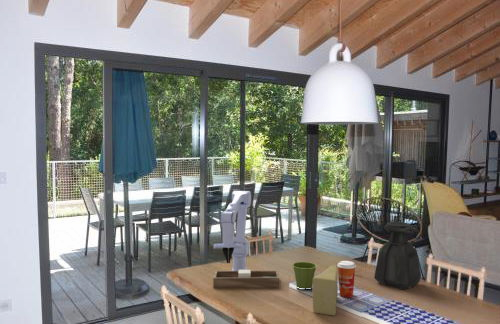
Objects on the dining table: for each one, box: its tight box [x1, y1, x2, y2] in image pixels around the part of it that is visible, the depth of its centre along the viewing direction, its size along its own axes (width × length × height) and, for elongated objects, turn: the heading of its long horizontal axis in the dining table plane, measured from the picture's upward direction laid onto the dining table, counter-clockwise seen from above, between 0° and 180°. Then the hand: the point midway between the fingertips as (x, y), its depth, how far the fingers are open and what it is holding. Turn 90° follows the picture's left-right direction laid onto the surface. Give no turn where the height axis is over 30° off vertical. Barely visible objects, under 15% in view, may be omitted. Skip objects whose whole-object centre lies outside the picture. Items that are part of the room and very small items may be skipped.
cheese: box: [311, 264, 339, 316], centre depth 183 cm, size 22×10×15 cm, turn 156°
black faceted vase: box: [373, 221, 422, 291], centre depth 210 cm, size 18×16×30 cm
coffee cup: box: [336, 260, 357, 298], centre depth 195 cm, size 8×8×15 cm
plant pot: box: [292, 261, 318, 289], centre depth 205 cm, size 12×12×11 cm
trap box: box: [212, 270, 280, 288], centre depth 212 cm, size 12×32×4 cm, turn 90°
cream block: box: [238, 269, 252, 278], centre depth 212 cm, size 6×6×4 cm
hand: (228, 262), depth 212 cm, fingers closed
